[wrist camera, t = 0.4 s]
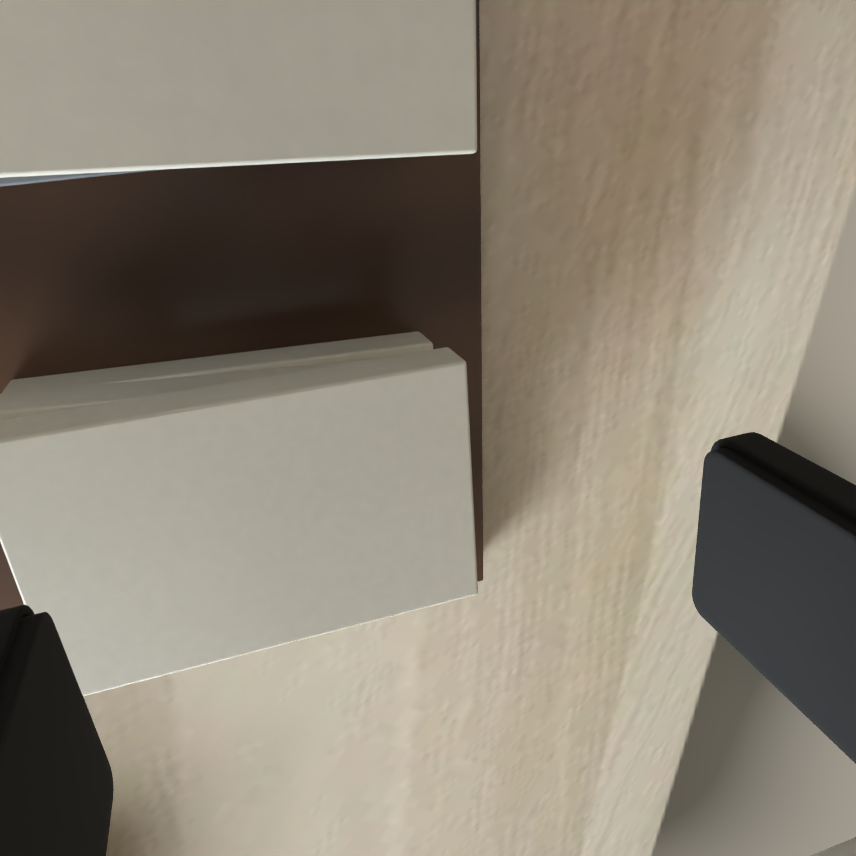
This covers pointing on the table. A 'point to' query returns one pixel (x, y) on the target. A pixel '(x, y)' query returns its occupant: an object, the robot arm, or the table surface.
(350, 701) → the table surface
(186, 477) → the white stack
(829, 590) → the robot arm
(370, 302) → the shelf board
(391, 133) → the white book
